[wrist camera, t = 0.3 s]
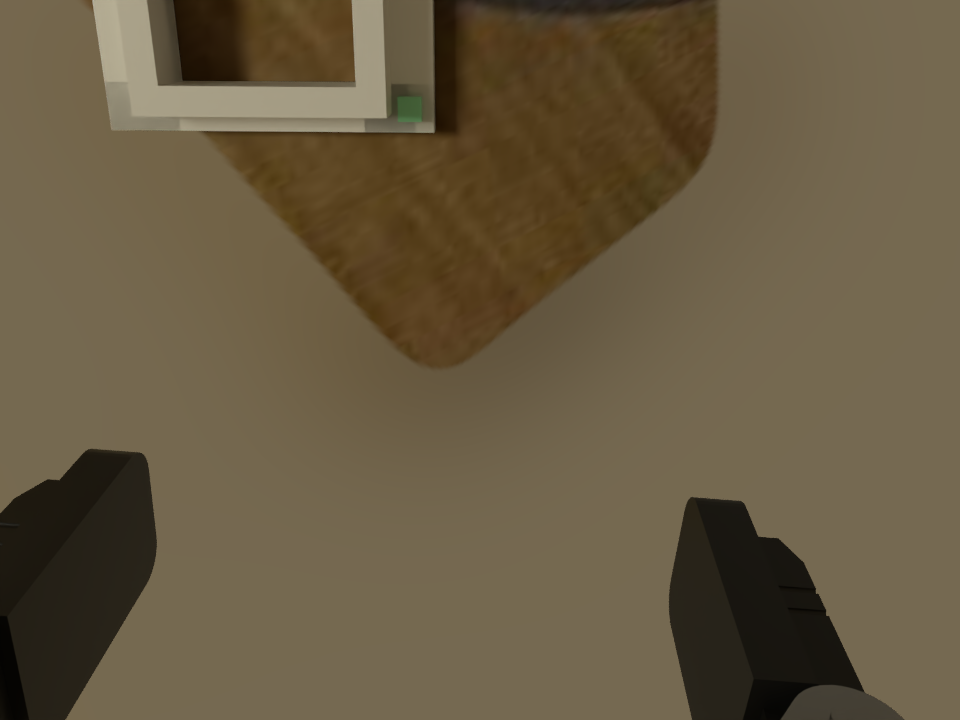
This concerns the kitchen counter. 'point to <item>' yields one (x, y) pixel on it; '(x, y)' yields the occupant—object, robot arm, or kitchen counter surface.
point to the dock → (270, 104)
